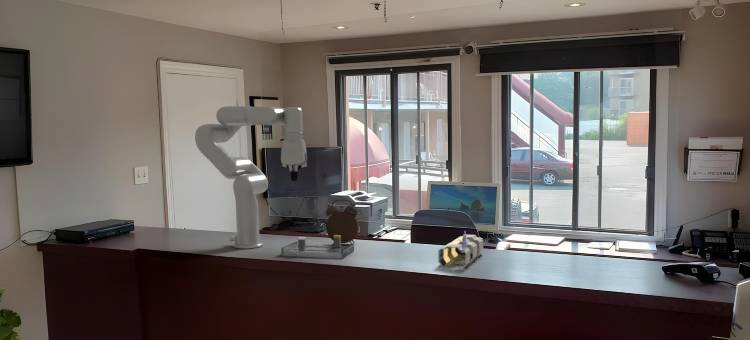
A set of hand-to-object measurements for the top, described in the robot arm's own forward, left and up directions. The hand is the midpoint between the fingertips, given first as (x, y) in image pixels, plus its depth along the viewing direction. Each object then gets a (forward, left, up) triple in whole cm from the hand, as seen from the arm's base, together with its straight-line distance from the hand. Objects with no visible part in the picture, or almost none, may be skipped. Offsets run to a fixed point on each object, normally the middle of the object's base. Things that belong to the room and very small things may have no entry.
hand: (294, 180), depth 230 cm
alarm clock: (+16, +14, -29) cm, 36 cm away
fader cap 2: (+19, -3, -27) cm, 33 cm away
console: (+12, -6, -29) cm, 32 cm away
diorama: (+70, -6, -30) cm, 76 cm away
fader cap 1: (+6, -9, -27) cm, 29 cm away
